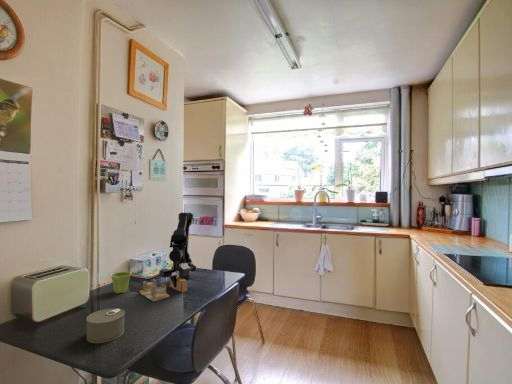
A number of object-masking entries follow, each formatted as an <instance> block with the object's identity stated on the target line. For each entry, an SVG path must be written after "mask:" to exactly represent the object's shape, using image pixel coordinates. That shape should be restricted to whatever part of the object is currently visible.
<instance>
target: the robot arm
mask: <svg viewBox="0 0 512 384" xmlns="http://www.w3.org/2000/svg"><path fill="white" fill-rule="evenodd" d="M194 217H195V216H194V213H192V212H179V213H178V217H177V218H178V223H177V228H176V229H175V230H174V231H173V232H172V235H171V237H170V244H169V248H172V250H171V251H170V252H169V254H168V257H169V260H170V261H171V262H172V266H171V269H169V268H164V269H160V270H159V273H158V275H159V276H160V277H162V278H169V277H170V278H171V280H172V283H173V285H174V287H175V288H176V278H177V276H178V277H181V278H183V279H185V280H187V281H188V280H190V279H192V277H190V272H191V273H193V272H197V265H195V264H194V263H193V261H192V258H191V255H190V253H189V239H190V236H189V235H190V227H191V226H192V224H193V221H194V219H195V218H194ZM177 273H178V274H177Z"/></svg>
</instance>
